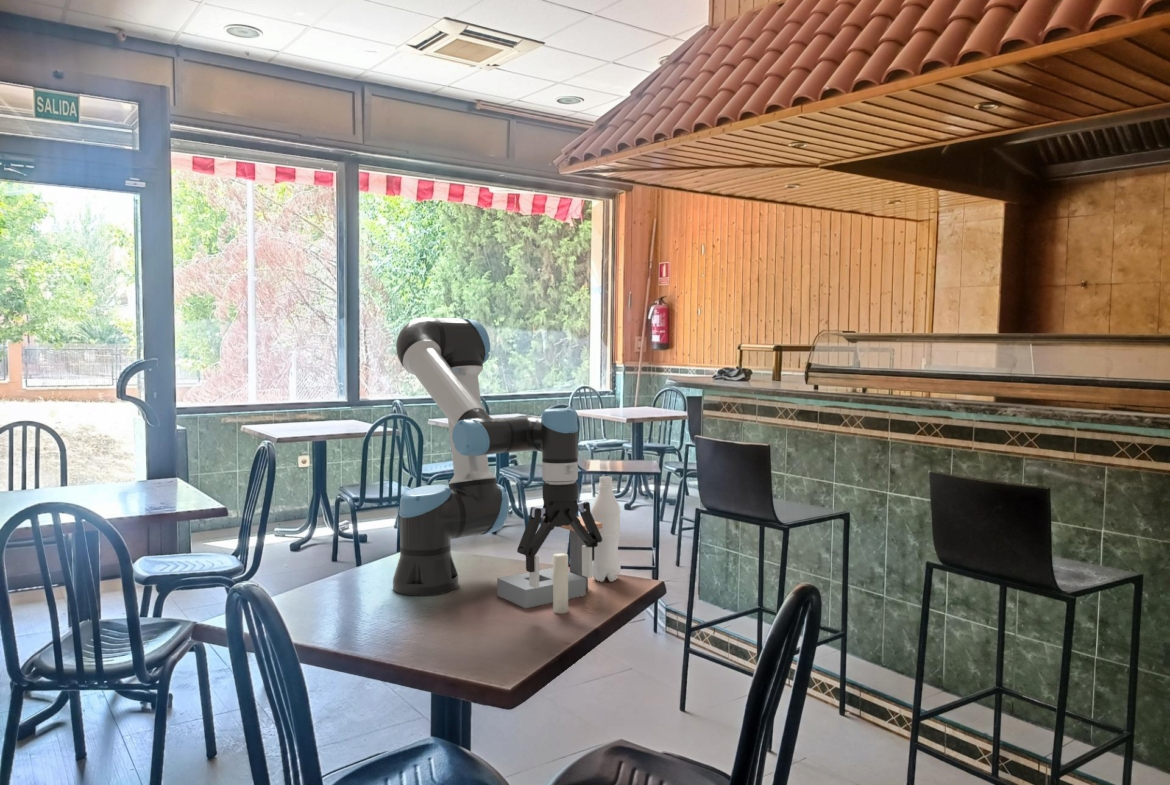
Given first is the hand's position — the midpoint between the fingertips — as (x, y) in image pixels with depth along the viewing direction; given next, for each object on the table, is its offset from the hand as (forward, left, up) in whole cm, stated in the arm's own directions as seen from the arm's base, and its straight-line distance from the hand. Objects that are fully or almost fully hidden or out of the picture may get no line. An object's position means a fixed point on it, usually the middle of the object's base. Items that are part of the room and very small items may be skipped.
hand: (561, 581), depth 172 cm
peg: (0, 0, -6) cm, 6 cm away
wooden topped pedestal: (-12, +12, -6) cm, 18 cm away
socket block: (-12, +3, -6) cm, 14 cm away
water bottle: (-14, +23, -7) cm, 28 cm away
